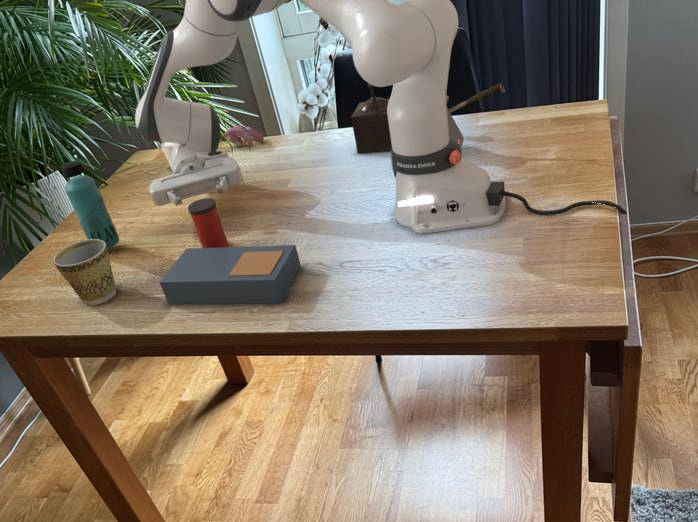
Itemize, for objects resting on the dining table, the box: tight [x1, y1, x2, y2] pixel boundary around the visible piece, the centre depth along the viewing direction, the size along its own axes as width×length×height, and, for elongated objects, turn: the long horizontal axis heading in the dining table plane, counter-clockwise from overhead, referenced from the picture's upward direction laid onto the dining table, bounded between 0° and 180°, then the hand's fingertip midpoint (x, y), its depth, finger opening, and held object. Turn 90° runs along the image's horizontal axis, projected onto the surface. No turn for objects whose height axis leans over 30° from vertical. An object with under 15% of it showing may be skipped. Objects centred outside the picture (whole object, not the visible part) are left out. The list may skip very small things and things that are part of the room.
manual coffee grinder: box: [350, 82, 392, 154], centre depth 172 cm, size 16×11×18 cm
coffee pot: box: [446, 83, 506, 147], centre depth 159 cm, size 21×12×15 cm, turn 75°
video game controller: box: [223, 125, 265, 147], centre depth 190 cm, size 10×5×7 cm, turn 68°
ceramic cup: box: [52, 239, 117, 306], centre depth 136 cm, size 13×10×10 cm
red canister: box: [187, 197, 230, 248], centre depth 141 cm, size 6×6×11 cm
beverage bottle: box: [61, 160, 120, 250], centre depth 148 cm, size 6×7×20 cm
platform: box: [159, 244, 302, 305], centre depth 131 cm, size 23×12×5 cm, turn 77°
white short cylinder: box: [160, 142, 174, 172], centre depth 184 cm, size 7×7×7 cm
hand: (199, 195), depth 148 cm, fingers open, 8 cm apart
